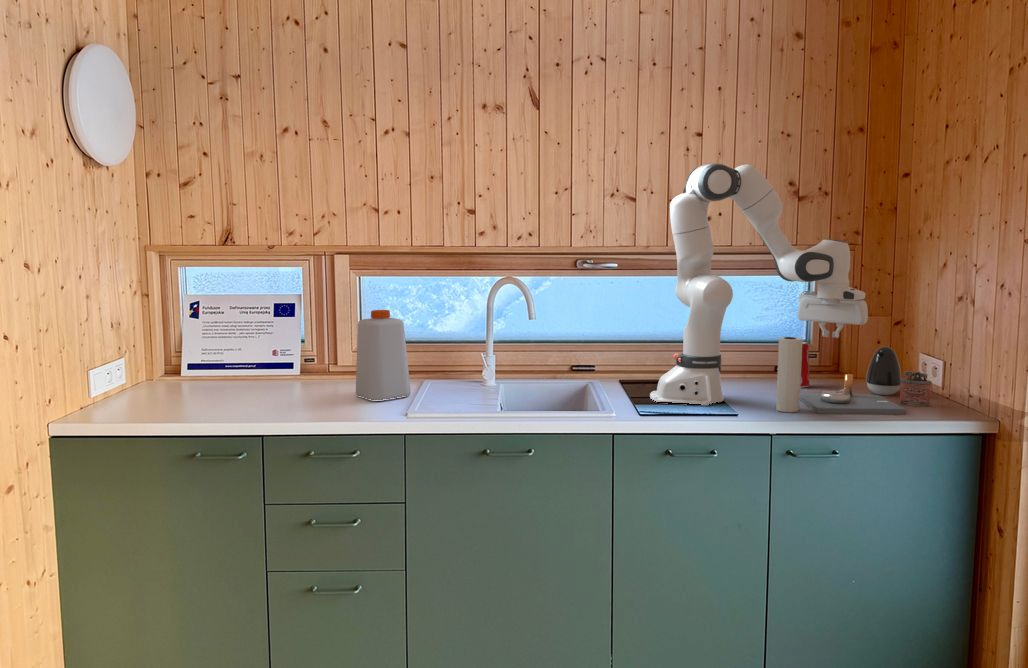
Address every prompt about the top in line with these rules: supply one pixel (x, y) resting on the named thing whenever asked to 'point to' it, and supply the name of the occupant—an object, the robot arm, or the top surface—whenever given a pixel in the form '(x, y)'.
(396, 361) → the plastic bottle
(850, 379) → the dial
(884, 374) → the black egg-shaped dome
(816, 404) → the slate board
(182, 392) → the top surface
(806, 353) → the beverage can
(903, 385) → the brown textured block
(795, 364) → the paper towel roll
